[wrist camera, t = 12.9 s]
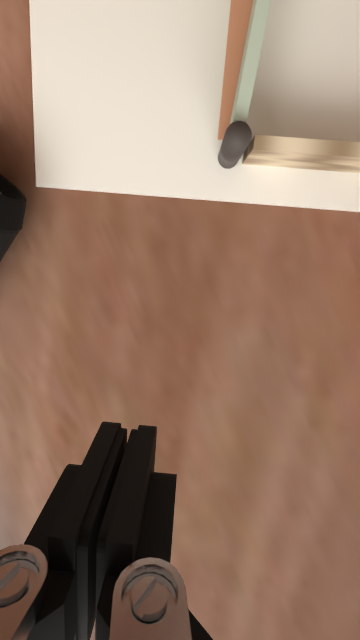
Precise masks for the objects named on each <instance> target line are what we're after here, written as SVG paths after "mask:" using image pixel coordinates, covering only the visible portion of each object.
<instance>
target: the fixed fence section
mask: <svg viewBox="0 0 360 640" xmlns="http://www.w3.org/2000/svg"><path fill="white" fill-rule="evenodd" d="M251 138H252V132H251V129H250V127H249V125H248V124H247V123H245V122H243V121H235V122H233V123H231V124H230V125H229V126H228V128H227V129H226V132H225V135H224V138H223V141H222V145H221V148H220V151H219V154H218V162H219V164H220V165H221V166H222V167H223V168H226V169H230V168H233V167H234V166H235V165H236V164H237V162H238V161H239V159H240V158H241V156H242V155H243V161H242V164H245V165H258V166H271V167H285V168H298V169H311V170H324V171H338V172H351V173H360V142H347V141H334V140H320V139H306V138H293V137H279V136H266V135H255V136H254V137H253V139H252V140H251Z"/></svg>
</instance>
